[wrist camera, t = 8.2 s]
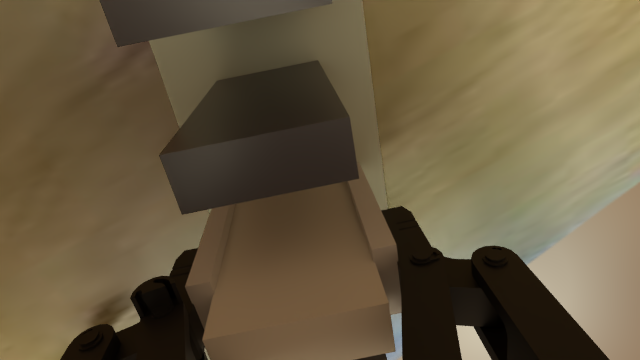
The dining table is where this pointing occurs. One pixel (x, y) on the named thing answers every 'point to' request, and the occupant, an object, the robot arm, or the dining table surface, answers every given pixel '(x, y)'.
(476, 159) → the dining table surface
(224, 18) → the domino
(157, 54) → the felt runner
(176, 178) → the domino
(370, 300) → the cream domino
